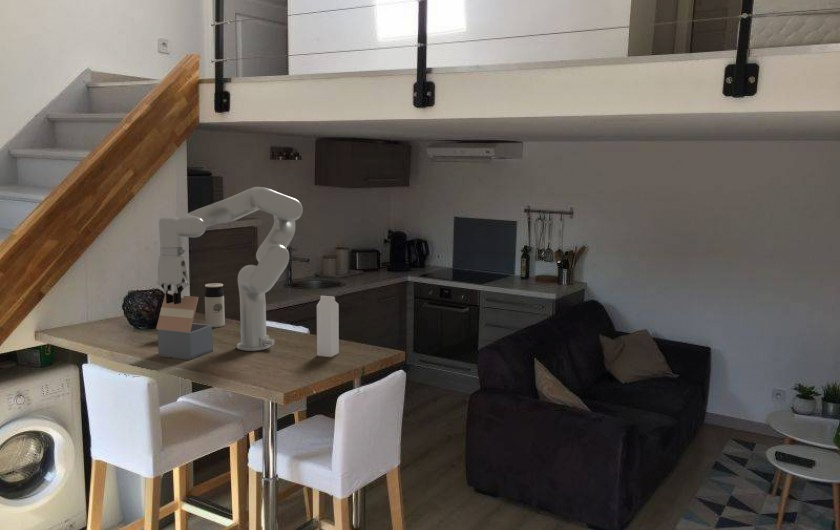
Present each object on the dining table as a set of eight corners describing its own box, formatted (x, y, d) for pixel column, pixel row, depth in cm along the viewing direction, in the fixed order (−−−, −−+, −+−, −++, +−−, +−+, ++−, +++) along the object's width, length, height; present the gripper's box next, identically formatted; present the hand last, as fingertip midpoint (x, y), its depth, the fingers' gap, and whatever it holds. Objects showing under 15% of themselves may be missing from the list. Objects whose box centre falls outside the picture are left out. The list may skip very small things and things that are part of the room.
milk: (324, 351, 263) (324, 294, 260) (339, 353, 261) (338, 295, 258) (316, 355, 258) (316, 296, 255) (331, 357, 256) (331, 297, 253)
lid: (198, 297, 252) (187, 292, 246) (190, 332, 249) (178, 328, 243) (166, 294, 257) (154, 289, 251) (157, 329, 253) (145, 324, 247)
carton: (212, 351, 262) (212, 325, 261) (191, 359, 250) (190, 332, 249) (181, 347, 267) (180, 322, 265) (158, 356, 255) (157, 329, 253)
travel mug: (204, 324, 305) (203, 283, 303) (223, 323, 308) (222, 282, 306) (206, 328, 298) (205, 286, 296) (226, 326, 301) (224, 285, 299)
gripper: (197, 251, 248) (199, 302, 251) (159, 249, 254) (162, 299, 256) (183, 254, 241) (185, 306, 244) (145, 252, 247) (147, 303, 249)
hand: (173, 302), depth 250 cm, fingers closed on lid, 2 cm apart
